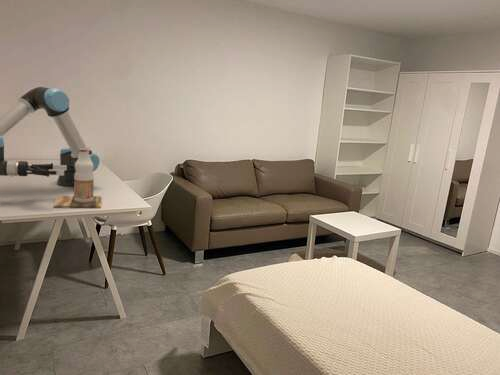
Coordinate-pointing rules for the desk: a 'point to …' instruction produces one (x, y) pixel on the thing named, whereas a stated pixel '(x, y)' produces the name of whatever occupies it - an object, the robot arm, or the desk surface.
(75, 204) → the floor panel
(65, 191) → the desk surface
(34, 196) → the desk surface
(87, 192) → the fruit juice
